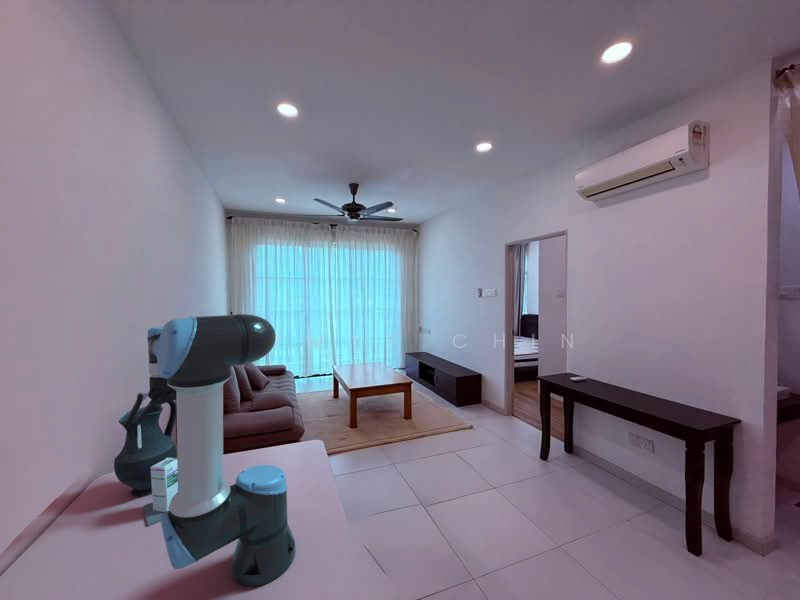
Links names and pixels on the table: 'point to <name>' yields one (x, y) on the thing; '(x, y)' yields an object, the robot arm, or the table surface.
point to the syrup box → (164, 483)
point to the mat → (151, 514)
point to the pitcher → (145, 450)
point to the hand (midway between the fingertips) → (166, 439)
